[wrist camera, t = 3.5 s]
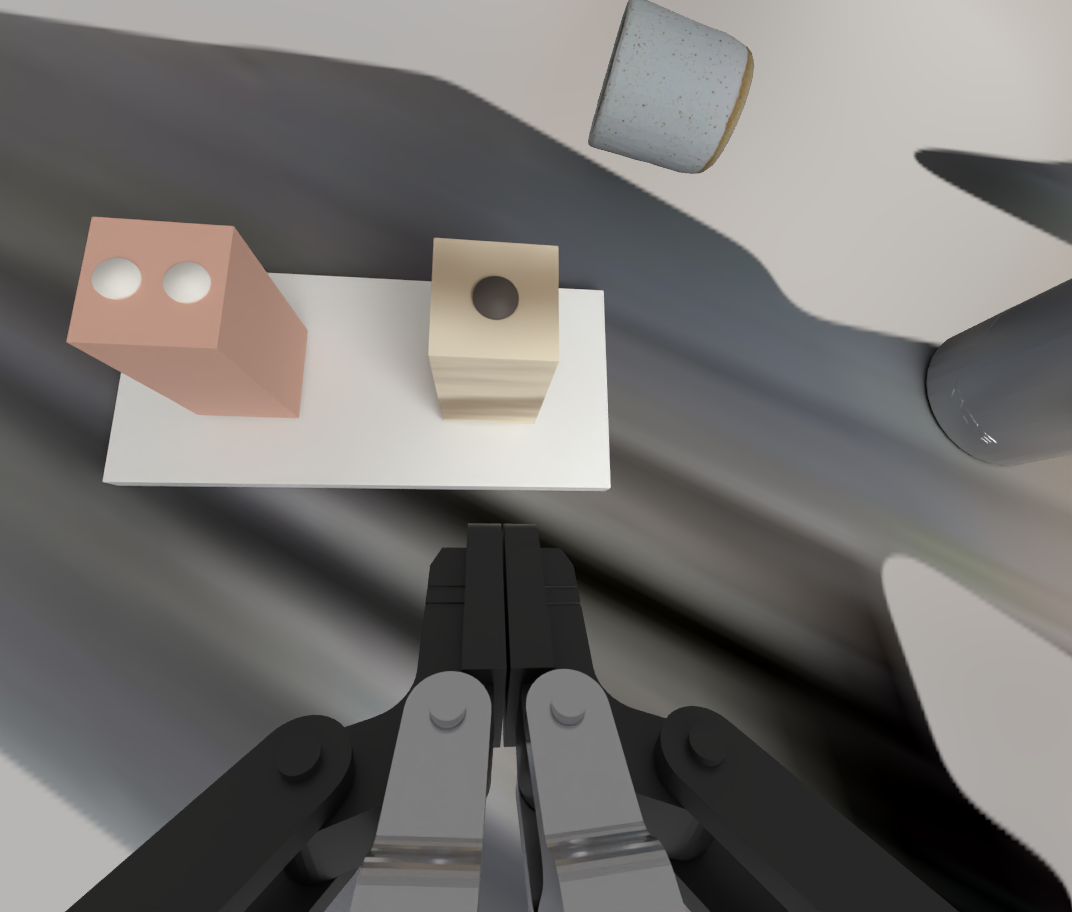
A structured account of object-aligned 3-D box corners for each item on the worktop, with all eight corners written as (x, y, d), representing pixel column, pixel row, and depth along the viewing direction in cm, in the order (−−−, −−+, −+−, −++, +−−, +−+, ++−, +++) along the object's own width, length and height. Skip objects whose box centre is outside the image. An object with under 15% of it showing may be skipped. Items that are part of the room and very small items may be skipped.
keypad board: (599, 300, 33) (603, 290, 32) (605, 491, 30) (610, 487, 29) (152, 277, 30) (139, 266, 29) (118, 485, 27) (102, 481, 26)
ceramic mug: (698, 204, 35) (758, 104, 28) (580, 173, 35) (609, 62, 27) (717, 82, 38) (777, -40, 30) (607, 50, 37) (641, -81, 30)
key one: (534, 423, 29) (559, 359, 20) (442, 420, 29) (427, 353, 20) (534, 339, 30) (558, 243, 21) (446, 335, 30) (433, 235, 21)
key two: (298, 418, 28) (214, 346, 19) (198, 415, 27) (63, 340, 18) (307, 330, 29) (232, 223, 20) (211, 325, 28) (89, 214, 19)
